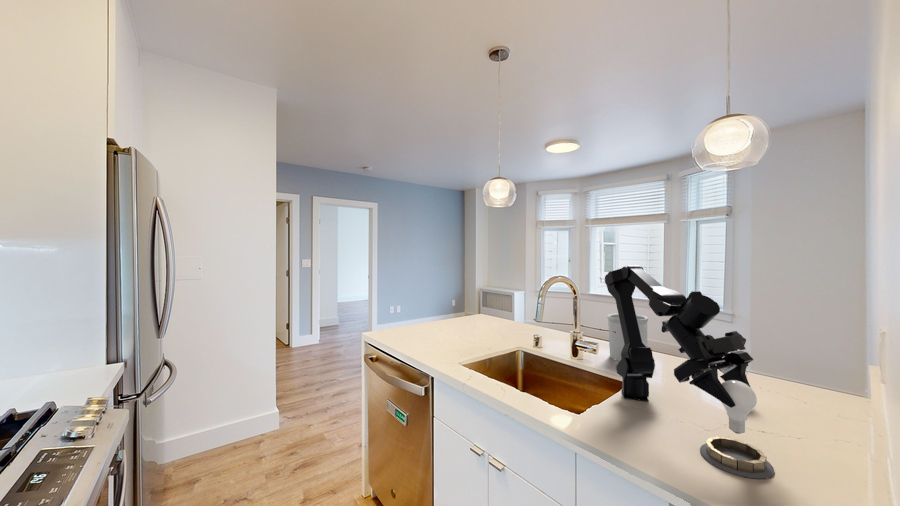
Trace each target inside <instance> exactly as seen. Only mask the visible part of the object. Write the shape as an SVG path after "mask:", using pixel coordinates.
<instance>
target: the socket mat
mask: <svg viewBox="0 0 900 506" xmlns="http://www.w3.org/2000/svg"><path fill="white" fill-rule="evenodd" d="M715 449H716V450H718V451H720V452H721V453H723V454H725V455H728V456H731V457H734V458H736V459H742V460H748V461H753V460H756V459H755V458H753V457H751V456H749V455H748V454H746V453H743V452H740V451H737V450H734V449H729V448H723V447H720V448H715ZM699 453H700V455H701V457H702V458H703V459H704V460H706V461H707V462H708V463H709V464H710V465H713V466H714V467H715V468H717V469H720V470H722V471H724V472H727V473H729V474H732V475H735V476H738V477H741V478H747V479H752V480H753V479H755V480H766V479H770V478H773V476H774V475H775V469H774V466H773V465H772V463H770V462H769V461H768V460H767V467H766V470H765V472H761V473H747V472H742V471H738V470H734V469H731V468H729V467H726V466H724V465H722V464H720V463H718V462H716V461H715V460H713V459H712V458H710V457H709V455H708V453H707V452H706V443H704V444H702V445H701V446H700V448H699Z"/></svg>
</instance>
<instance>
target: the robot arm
mask: <svg viewBox="0 0 900 506" xmlns="http://www.w3.org/2000/svg"><path fill="white" fill-rule="evenodd" d="M604 284H605V285H606V288H607V291H608V293H609V294H610V295H611V296H612V297H613V298H614V300H615V303H616V308H617V313H618V314H619V319H620V324H621V329H622V334H623V339H624V347H623V349H622V352H621V361H620V362H619V361H618V363H617V364H616V365H615V369H616V374H617V375H618V376H620V377H621V381H622V382H621V383H622V384H621V385H622V387H621V394H622V397H623V399H628V400H636V401H643V402H648V401H649V396H650V384H649V382H648V379H652V378H653V376H654V371H655V368H656V363H655V361H656V360H655V359H654V355H653V350H652V348H651V347H649V346H647V347H646V346H645V345H644V344H643V343H642V339H641V335H640V330H639V326H638V322H637V317H636V308H635V305H634V299H633V294H634V291H635V290H636V288H637V289H638V290H639V291H640V292H641V293H642V294H643V295H644V296H645V297H646V298H647V300H648V306H649V307H650V309H651V310H652V312H654V314H655V315H656V316H658V317H669V319H667V320H663V321H661V324H662V325H661V332H662V333H668V332H669V333H670V335H672V337H673V338H674V339H675V342H677V343H678V345H679V346H680V348H678V349H677V350H678V351H679V352H680V354H686V355H687V357H688V358H689V359H687V360H685V361H683V362H682V363H681V364H679V365H678V366H676V367H675V368H674V369H673V375H674V377H675V378H676V380H677V381H678V382H679V383H680V384H681V383H685V382H688V383H689V385H693V386H695V387H697V388H698V389H699V390H700V389H701V391H703V392H705V393H707V394H709V395H710V396H711V397H713V398H715V399H716V400H718V401H720V403H721V402H723V403H724V404H726V405H727V406H729V407H731V408H732V407H734V406H735V403H734V402H733V400H732V398H731V397H730V395H729V394H728V392H727V391H726V390H725V388H724V387H723V385H722V382H721V381H720V379H719V377H720V378H721V379H722V380H723V382H725V381H728V380H737V381H741V382H743V383H745V384H747V385H748V386H749V387H751V385H750V383H749V380H748V377H746V374H747V372H746V371H747V367H748V366H749V364H750V363H752V362H753V361H754V358H753V357H752V356H751V355H750V354H749V352H747V351H744V350H746V349H747V348H746V347H745V345H746V342H747V338H745V337H744V336H743V335H742V334H740V332H738V331H737V330H733V331H729V332H725V334H724V336H722V337H717V338H714V336H712V335H711V334H704V333H703V331H702V330H701V329H703V328H705V327H706V326H707V325H708V324H709V323H710V322H711V321H712V320H713V319H714V318H715V317H716V316H718V314H719V313H720V312H721V308H720V306H719V305H720V304H718V302H717V301H715V300H714V299H713V298H711V297H709V296H707V295H704V294H703V293H702V292H701V290H700V291H693V290H692V291H690V293H689V294H688V296H687V297H686V296H685V295H684V294H682V293H681V292H679V291H677V290H674V289H671V288H667V287H666V286H663V285H662V284H661V283H660V282H658V281H657V280H656V279H655V278H654V277H653V276H651V275H650V274H649V273H648V272H647V271H646V270H644V267H643V266H640V265H638V264H637V265H625V266H623V267H621V268H618V269H614V270H612V271H608V272H607V274H605V275H604ZM718 370H719V372H721V373H722V375H720V376H719V372H718ZM745 373H746V374H745ZM690 378H691V379H692V380H691V381H690Z"/></svg>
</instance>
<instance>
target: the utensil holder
mask: <svg viewBox="0 0 900 506" xmlns="http://www.w3.org/2000/svg"><path fill="white" fill-rule="evenodd" d="M636 317H637V322H638V326H639V330H640V335H641V339H642V343H643V344H644V345H645V346H646V347H648V322H649V317H648V316H646V315H644V314H643V315H642V314H636ZM607 320H608V321H607V322H608V343H609V346H608V347H609V357H610V359H612V360H614V361H616V362H618V363H619V362H620V361H621V352H622V349H623V347H624V339H623V334H622V329H621V324H620V319H619V314H618V312H617V313H615V312H614V313H610V314H607ZM611 331H616V333H614V332H611Z"/></svg>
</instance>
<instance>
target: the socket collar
mask: <svg viewBox="0 0 900 506" xmlns="http://www.w3.org/2000/svg"><path fill="white" fill-rule="evenodd" d="M705 444H706V452H707V453H708V455H709V457H710V458H712V459H713V460H715V461H716V462H718V463H720V464H722V465H724V466H726V467H729V468H731V469H734V470H738V471H742V472H747V473H761V472H765V470H766V467H767V461H768V460H767V459H768V458H767V456H766V454H765V453H764V452H763V451H762V450H761V449H760V448H757V447H755V446H753V445H751V444H750V443H748V442H745V441H742V440H739V439H735V438H732V437H726V436H710V437H708V438H707V439H706V440H705ZM720 447H723V448H729V449H734V450H737V451H740V452H743V453H746V454H748V455H749V456H751V457H753V458H755V459H756V460H753V461H748V460H742V459H736V458H734V457H731V456H728V455H725V454H723V453H721V452H720V451H718V450H716V449H715V448H720Z"/></svg>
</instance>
